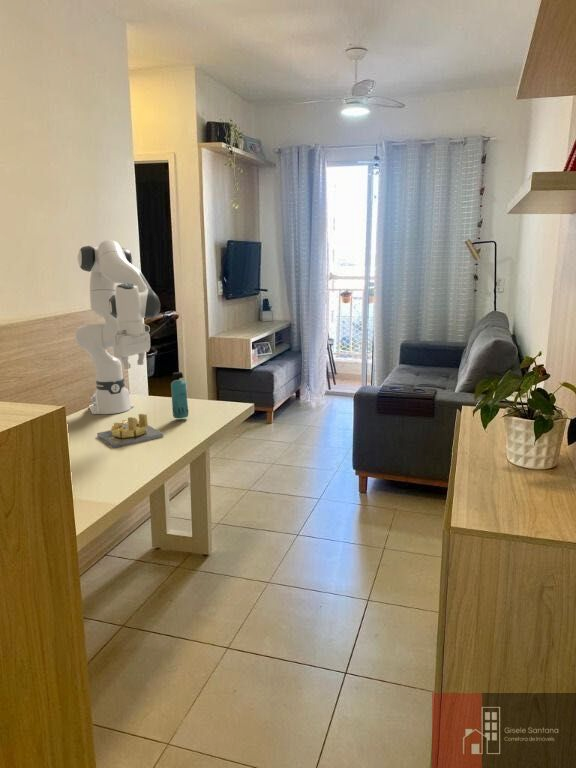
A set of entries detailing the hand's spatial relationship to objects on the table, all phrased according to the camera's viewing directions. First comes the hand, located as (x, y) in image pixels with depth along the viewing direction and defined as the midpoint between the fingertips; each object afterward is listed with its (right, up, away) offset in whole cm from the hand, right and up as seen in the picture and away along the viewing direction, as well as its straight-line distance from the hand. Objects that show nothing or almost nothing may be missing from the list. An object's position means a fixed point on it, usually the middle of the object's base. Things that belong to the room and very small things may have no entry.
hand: (134, 366), depth 208 cm
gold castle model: (-3, -26, +6) cm, 27 cm away
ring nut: (-3, -25, +5) cm, 25 cm away
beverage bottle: (+12, -21, +26) cm, 36 cm away
